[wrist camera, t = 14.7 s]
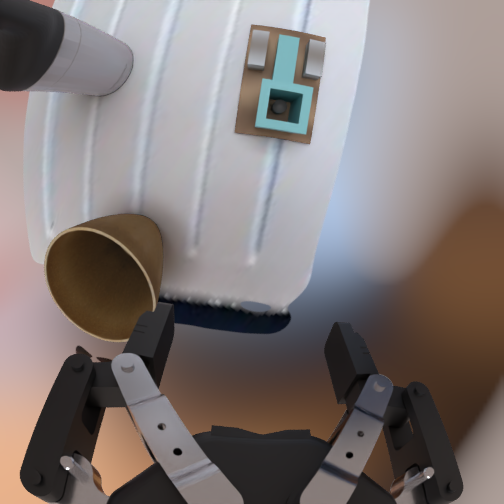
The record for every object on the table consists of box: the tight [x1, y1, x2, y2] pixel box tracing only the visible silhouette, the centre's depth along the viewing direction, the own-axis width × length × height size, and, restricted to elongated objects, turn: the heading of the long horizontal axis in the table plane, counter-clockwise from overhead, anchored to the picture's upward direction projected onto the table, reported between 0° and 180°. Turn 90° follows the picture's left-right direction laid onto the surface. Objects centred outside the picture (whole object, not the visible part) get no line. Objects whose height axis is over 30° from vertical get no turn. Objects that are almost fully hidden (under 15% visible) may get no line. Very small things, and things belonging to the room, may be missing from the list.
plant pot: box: [44, 214, 163, 342], centre depth 34 cm, size 15×15×16 cm
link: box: [255, 34, 313, 134], centre depth 27 cm, size 5×13×10 cm, turn 172°
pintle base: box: [235, 25, 326, 144], centre depth 29 cm, size 16×10×5 cm, turn 172°
